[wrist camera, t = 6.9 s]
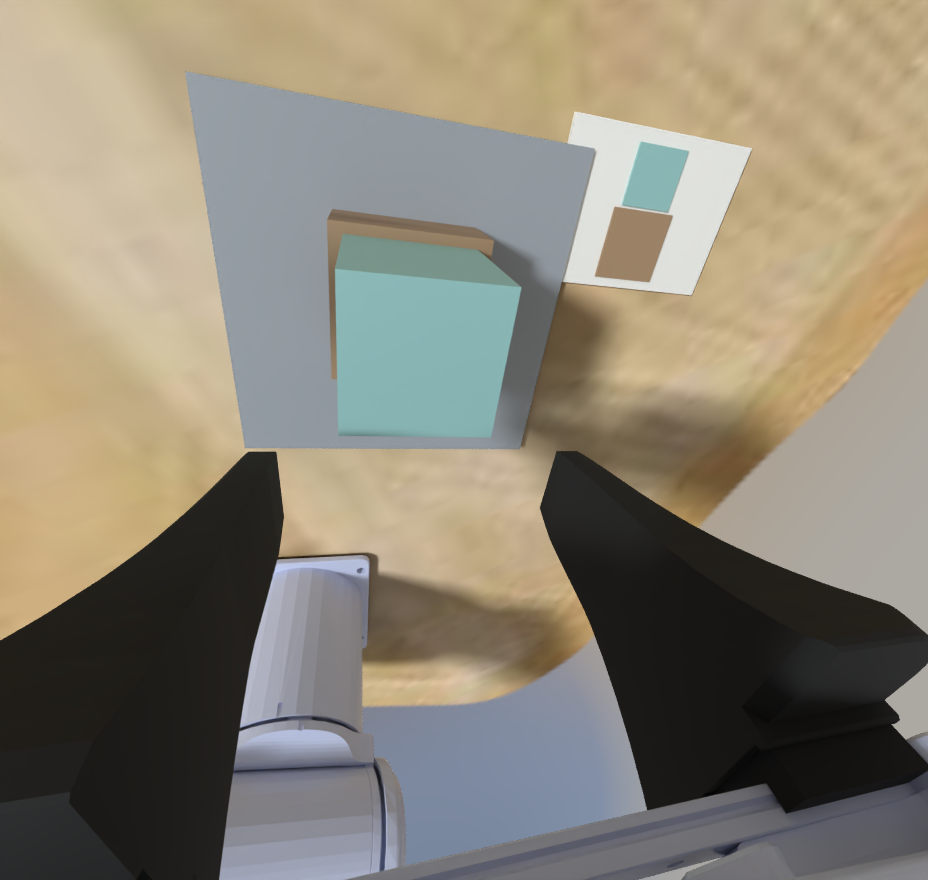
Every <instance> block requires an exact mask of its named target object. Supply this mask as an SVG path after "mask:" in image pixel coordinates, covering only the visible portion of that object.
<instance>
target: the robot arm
mask: <svg viewBox="0 0 928 880" xmlns="http://www.w3.org/2000/svg"><path fill="white" fill-rule="evenodd" d="M540 510H541V513H542V516H543V520H544V523H545V526H546V529H547V532H548V535H549V538H550V541H551V543H552V545H553V547H554V549H555V551H556V553H557V555H558V558H559V560H560V562H561V564H562V566H563V568H564V570H565V572H566V574H567V576H568V578H569V580H570V582H571V584H572V586H573V588H574V590H575V592H576V594H577V596H578V598H579V600H580V602H581V605H582V607H583V609H584V611H585V613H586V615H587V618H588V620H589V622H590V624H591V627H592V630H593V632H594V635H595V638H596V640H597V643H598V646H599V649H600V651H601V654H602V656H603V659H604V662H605V665H606V668H607V671H608V674H609V677H610V680H611V683H612V686H613V689H614V692H615V695H616V698H617V701H618V705H619V708H620V711H621V715H622V718H623V722H624V725H625V728H626V731H627V735H628V738H629V741H630V745H631V749H632V752H633V756H634V760H635V764H636V768H637V771H638V775H639V779H640V783H641V787H642V790H643V794H644V799H645V803H646V807H647V811H643V812H639V813H634V814H630V815H625V816H621V817H617V818H612V819H608V820H603V821H599V822H595V823H590V824H586V825H582V826H578V827H573V828H568V829H564V830H560V831H555V832H551V833H546V834H542V835H538V836H533V837H529V838H524V839H521V840H516V841H512V842H507V843H503V844H498V845H494V846H489V847H485V848H481V849H476V850H472V851H468V852H463V853H459V854H454V855H450V856H446V857H442V858H437V859H433V860H428V861H424V862H419V863H415V864H411V865H406V866H405V856H406V824H405V811H404V803H403V796H402V792H401V788H400V784H399V782H398V779H397V777H396V775H395V774H394V772H393V771H392V769H391V767H390V765H389V763H388V762H387V761H386V759H385V758H381V757H376V758H374V745H373V735H372V734H362V649H364V648H365V647H366V646H367V630H368V598H369V566H370V562H369V558H368V557H367V556H365V555H354V556H335V557H317V558H298V559H279V560H277V559H278V555H279V549H280V542H281V535H282V528H283V520H284V513H283V505H282V496H281V488H280V479H279V470H278V462H277V453H276V452H248V453H246V454H245V455H244V456H243V457H242V458H241V459H240V460H239V461H238V462H237V463H236V464H235V465H234V466H233V467H232V468H231V469H230V470H229V471H228V472H227V473H226V474H225V475H224V476H223V477H222V478H221V479H220V480H219V481H218V482H217V483H216V484H215V485H214V486H213V487H212V488H211V489H210V490H209V491H208V492H207V493H206V494H205V495H204V496H203V497H202V498H201V499H200V500H199V501H198V502H197V503H196V504H194V505H193V506H192V507H191V508H190V509H189V510H188V511H187V512H186V513H185V514H184V515H182V516H181V517H180V518H179V519H178V520H177V521H175V522H174V523H173V524H172V525H171V526H170V527H168V528H167V529H166V530H165V531H164V532H163V533H161V534H160V535H159V536H158V537H157V538H156V539H154V540H153V541H152V542H151V543H149V544H148V545H147V546H146V547H144V548H143V549H142V550H140V551H139V552H138V553H137V554H135V555H134V556H132V557H131V558H130V559H128V560H127V561H125V562H124V563H123V564H121V565H120V566H119V567H117V568H116V569H114V570H113V571H112V572H110V573H109V574H107V575H106V576H104V577H103V578H101V579H100V580H98V581H97V582H95V583H94V584H92V585H91V586H89V587H87V588H86V589H84V590H83V591H81V592H80V593H78V594H76V595H75V596H73V597H72V598H70V599H69V600H67V601H66V602H64V603H62V604H61V605H59V606H58V607H56V608H55V609H53V610H51V611H50V612H48V613H47V614H45V615H43V616H42V617H40V618H38V619H37V620H35V621H33V622H32V623H30V624H28V625H26V626H25V627H23V628H21V629H20V630H18V631H16V632H14V633H13V634H11V635H9V636H7V637H6V638H4V639H2V640H0V880H639V879H642V878H646V877H650V876H654V875H657V874H661V873H665V872H668V871H672V870H676V869H679V868H683V867H687V866H690V865H694V864H698V863H702V862H705V861H709V860H712V859H716V858H720V857H722V858H720V859H718V860H716V861H713V862H711V863H708V864H706V865H703V866H701V867H699V868H696V869H694V870H691V871H689V872H687V873H686V874H685V876H684V877H683V879H682V880H928V732H924V733H921V734H918V735H915V736H913V737H911V738H909V739H907V740H905V739H904V738H903V737H902V735H901V734H900V733H899V732H898V731H897V730H896V729H895V728H894V727H893V726H892V725H891V724H895V723H897V722H898V721H899V720H900V719H899V715H898V714H897V713H896V712H895V711H894V710H893V709H892V708H891V707H890V706H889V705H888V703H887V702H886V701H885V699H886V698H887V697H889V696H890V695H891V694H892V693H894V692H895V691H896V690H897V689H899V688H900V687H901V686H902V685H904V684H905V683H906V682H907V681H908V680H910V679H911V678H912V677H913V676H915V675H916V674H917V673H918V672H919V671H920V670H921V669H922V668H923V667H925V666H926V664H927V663H928V635H927V634H926V633H925V632H924V631H923V630H921V629H920V628H919V627H918V626H917V625H916V624H914V623H913V622H912V621H911V620H910V619H908V618H907V617H906V616H905V615H904V614H902V613H901V612H900V611H898V610H897V609H895V608H894V607H892V606H891V605H888V604H885V603H882V602H879V601H876V600H873V599H870V598H867V597H863V596H861V595H857V594H854V593H851V592H848V591H845V590H842V589H839V588H836V587H833V586H830V585H827V584H824V583H821V582H819V581H816V580H813V579H811V578H808V577H805V576H803V575H800V574H797V573H795V572H792V571H790V570H787V569H784V568H782V567H780V566H777V565H775V564H772V563H770V562H767V561H765V560H763V559H761V558H759V557H756V556H754V555H752V554H750V553H747V552H745V551H743V550H741V549H738V548H736V547H734V546H732V545H730V544H728V543H726V542H724V541H721V540H720V539H718V538H716V537H714V536H712V535H710V534H708V533H707V532H705V531H703V530H701V529H699V528H697V527H695V526H693V525H692V524H690V523H688V522H686V521H685V520H683V519H681V518H679V517H678V516H676V515H674V514H673V513H671V512H669V511H668V510H666V509H665V508H663V507H661V506H660V505H658V504H656V503H655V502H653V501H652V500H650V499H649V498H647V497H646V496H644V495H643V494H641V493H640V492H638V491H637V490H635V489H634V488H632V487H631V486H629V485H628V484H626V483H625V482H623V481H622V480H620V479H619V478H617V477H616V476H615V475H613V474H612V473H610V472H609V471H607V470H606V469H604V468H603V467H601V466H600V465H598V464H597V463H595V462H594V461H592V460H591V459H589V458H588V457H586V456H584V455H583V454H581V453H579V452H577V451H557V452H556V455H555V459H554V462H553V465H552V469H551V472H550V475H549V479H548V482H547V485H546V489H545V492H544V496H543V499H542V502H541V506H540ZM360 568H362V569H360Z"/></svg>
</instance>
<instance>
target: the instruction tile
mask: <svg viewBox="0 0 928 880" xmlns="http://www.w3.org/2000/svg"><path fill="white" fill-rule="evenodd" d="M568 144H573V145H578V146H584V147H589V148H594V149H595V151H594V155H593V159H592V163H591V167H590V171H589V175H588V179H587V183H586V187H585V191H584V195H583V199H582V203H581V207H580V211H579V215H578V219H577V223H576V227H575V231H574V235H573V239H572V243H571V247H570V251H569V255H568V259H567V263H566V267H565V271H564V275H563V279H562V282H569V283H579V284H588V285H598V286H607V287H617V288H626V289H636V290H645V291H655V292H665V293H674V294H684V295H692V293H693V291H694V288H695V286H696V283H697V281H698V278H699V276H700V274H701V271H702V269H703V266H704V264H705V261H706V259H707V257H708V254H709V252H710V249H711V247H712V244H713V242H714V240H715V237H716V235H717V232H718V230H719V227H720V225H721V223H722V220H723V218H724V215H725V213H726V210H727V208H728V206H729V203H730V201H731V198H732V196H733V193H734V191H735V189H736V186H737V184H738V181H739V179H740V176H741V174H742V172H743V169H744V167H745V164H746V162H747V159H748V157H749V155H750V152H751V150H752V148H748V147H743V146H738V145H733V144H729V143H724V142H719V141H714V140H709V139H705V138H700V137H695V136H690V135H685V134H681V133H676V132H671V131H666V130H661V129H657V128H652V127H647V126H642V125H637V124H633V123H628V122H623V121H618V120H613V119H609V118H604V117H599V116H594V115H589V114H585V113H580V112H574V115H573V120H572V124H571V129H570V133H569V138H568Z"/></svg>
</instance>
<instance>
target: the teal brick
mask: <svg viewBox="0 0 928 880" xmlns="http://www.w3.org/2000/svg"><path fill="white" fill-rule="evenodd" d="M521 288H522V287H520V286H519V285H518V284H517V283H516V282H515V281H514V280H512V279H511V278H510V277H509V276H508V275H507V274H505V273H504V272H503V271H502V270H501V269H500V268H498V267H497V266H496V265H495V264H494V263H493V262H491V261H490V260H489V259H488V258H487V257H486V256H485V255H483V254H482V253H481V252H480V251H479V250H476V249H468V248H459V247H451V246H442V245H434V244H425V243H417V242H408V241H400V240H392V239H383V238H375V237H366V236H358V235H349V234H343V235H342V239H341V244H340V248H339V253H338V257H337V262H336V266H335V296H336V345H337V395H338V436H394V437H484V438H491V435H492V430H493V425H494V420H495V415H496V410H497V405H498V400H499V395H500V391H501V386H502V381H503V376H504V371H505V366H506V361H507V356H508V351H509V346H510V342H511V337H512V332H513V327H514V322H515V317H516V312H517V307H518V302H519V297H520V292H521Z"/></svg>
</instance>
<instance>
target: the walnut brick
mask: <svg viewBox="0 0 928 880" xmlns="http://www.w3.org/2000/svg"><path fill="white" fill-rule="evenodd" d="M343 234H349V235H358V236H366V237H375V238H383V239H392V240H400V241H408V242H417V243H425V244H434V245H442V246H451V247H459V248H468V249H476V250H479V251H480V252H481V253H482V254H483V255H485V256H486V257H487V258H488V259H489V260H490V261H491V257H492V251H493V244H494V240H493V239H491V238H490V237H488V236H487V235H486V234H484V233H483V232H481V231H480V230H478V229H477V228H475V227H467V226H460V225H452V224H444V223H437V222H429V221H421V220H414V219H406V218H398V217H391V216H383V215H375V214H368V213H360V212H352V211H345V210H337V209H332V210H331V212H330V214H329V216H328V218H327V241H328V276H329V311H330V347H331V379H337V345H336V296H335V266H336V262H337V257H338V253H339V248H340V244H341V239H342V235H343Z"/></svg>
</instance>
